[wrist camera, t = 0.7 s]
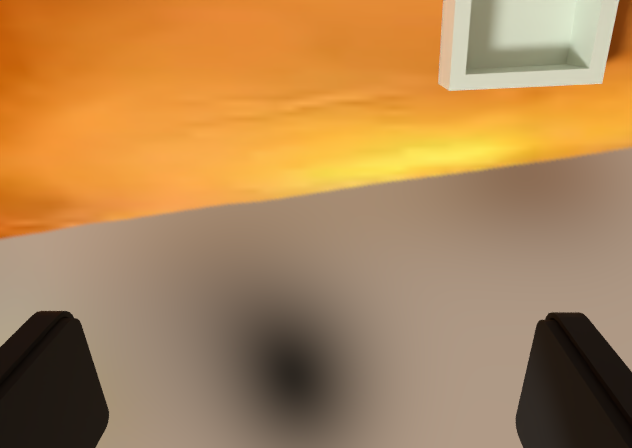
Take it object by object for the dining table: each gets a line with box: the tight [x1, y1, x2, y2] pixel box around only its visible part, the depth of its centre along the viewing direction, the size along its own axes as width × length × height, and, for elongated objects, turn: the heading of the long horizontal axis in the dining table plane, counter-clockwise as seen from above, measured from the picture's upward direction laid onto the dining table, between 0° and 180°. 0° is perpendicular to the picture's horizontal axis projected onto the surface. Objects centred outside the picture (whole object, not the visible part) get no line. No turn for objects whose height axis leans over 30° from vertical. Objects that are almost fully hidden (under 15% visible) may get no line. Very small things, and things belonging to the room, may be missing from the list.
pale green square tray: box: [438, 0, 619, 91], centre depth 30 cm, size 10×10×4 cm
